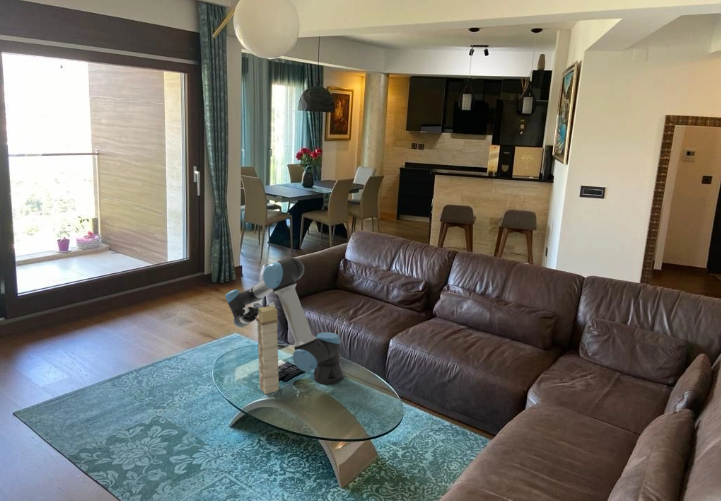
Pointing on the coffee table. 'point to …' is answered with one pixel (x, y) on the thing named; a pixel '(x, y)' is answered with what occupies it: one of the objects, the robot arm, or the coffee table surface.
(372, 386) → the coffee table surface
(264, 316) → the bar
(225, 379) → the coffee table surface
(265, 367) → the pedestal
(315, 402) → the coffee table surface
